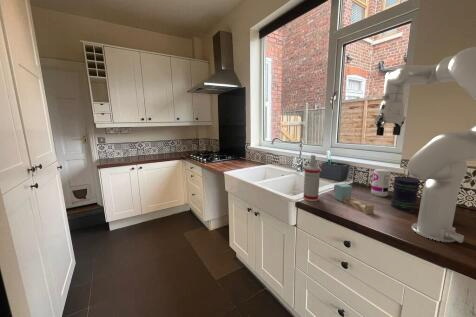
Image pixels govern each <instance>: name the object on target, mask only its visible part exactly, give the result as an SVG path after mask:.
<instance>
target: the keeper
mask: <svg viewBox="0 0 476 317" xmlns="http://www.w3.org/2000/svg"><path fill="white" fill-rule="evenodd" d="M335 185H336V189H335V198H334V199H335V200H337V201H339V202H343V197H350V198H352V191H353V190H352V188H353V186H352V185H350V184H347V183H336V184H335Z"/></svg>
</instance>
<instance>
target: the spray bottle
mask: <svg viewBox="0 0 476 317" xmlns="http://www.w3.org/2000/svg"><path fill="white" fill-rule="evenodd" d="M320 175H321V167H320V166H318V165H317V159H316V155H314V154H311V155H310V160H309V164H308V165H306V166H304V178H303V179H304V180H303V181H304V183H303V197H302V198H303V200H305V201H308V202H318V200H319V193H320V192H319V189H320Z"/></svg>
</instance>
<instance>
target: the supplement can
mask: <svg viewBox="0 0 476 317" xmlns="http://www.w3.org/2000/svg"><path fill="white" fill-rule="evenodd" d="M390 179H391V171H390V170H389V169H386V168H375V169H374V170H373V173H372V183H371V188H370V189H371V191H370V192H371V194H372V195H374V196H376V197H387V196H388V195H389V187H390V181H391V180H390Z"/></svg>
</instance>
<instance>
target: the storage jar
mask: <svg viewBox="0 0 476 317" xmlns="http://www.w3.org/2000/svg"><path fill="white" fill-rule="evenodd" d="M420 180H421V179H417V178H415V177H409V176H399V175H398V176H394V178H393V184H392V187H393V190H392V195H391V200H390V201H391V202H390V203H391V204H390V207H391V208H393V209H395V210H398V211H402V212H406V213H407V212H411V213H412V212H415V211H416V207H417V202H418V201H417V195H418V192H419V188H420Z"/></svg>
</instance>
